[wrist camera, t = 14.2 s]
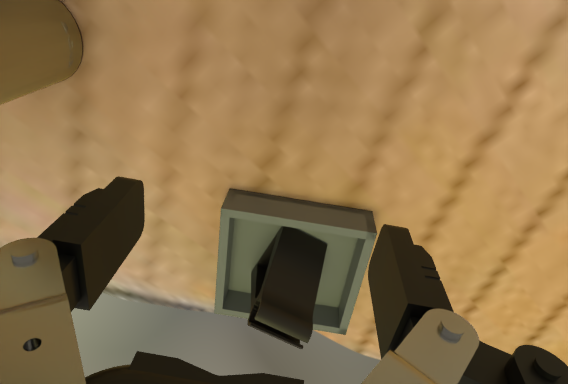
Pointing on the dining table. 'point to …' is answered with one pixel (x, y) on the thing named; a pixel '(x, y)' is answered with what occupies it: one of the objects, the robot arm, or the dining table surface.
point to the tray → (310, 220)
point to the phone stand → (287, 286)
